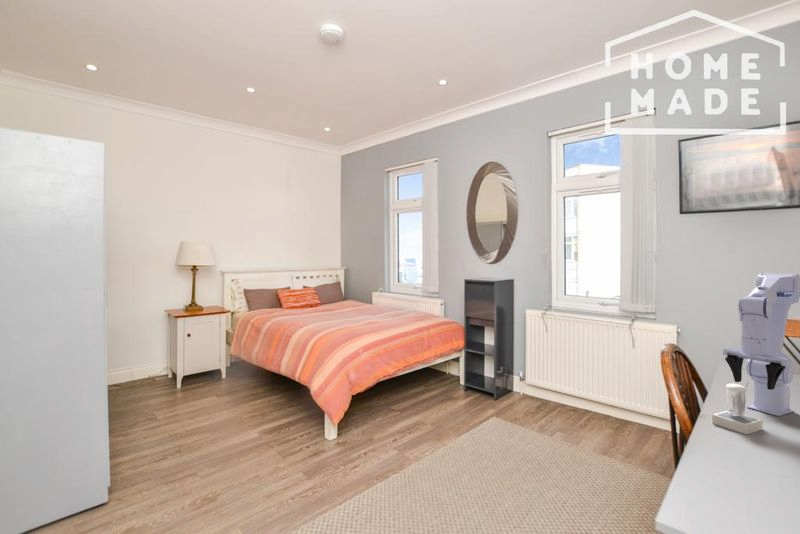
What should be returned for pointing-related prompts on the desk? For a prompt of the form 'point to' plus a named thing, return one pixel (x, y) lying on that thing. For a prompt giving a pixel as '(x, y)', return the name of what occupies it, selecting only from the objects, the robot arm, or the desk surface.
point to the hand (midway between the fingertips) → (753, 385)
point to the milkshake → (736, 400)
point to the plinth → (737, 422)
